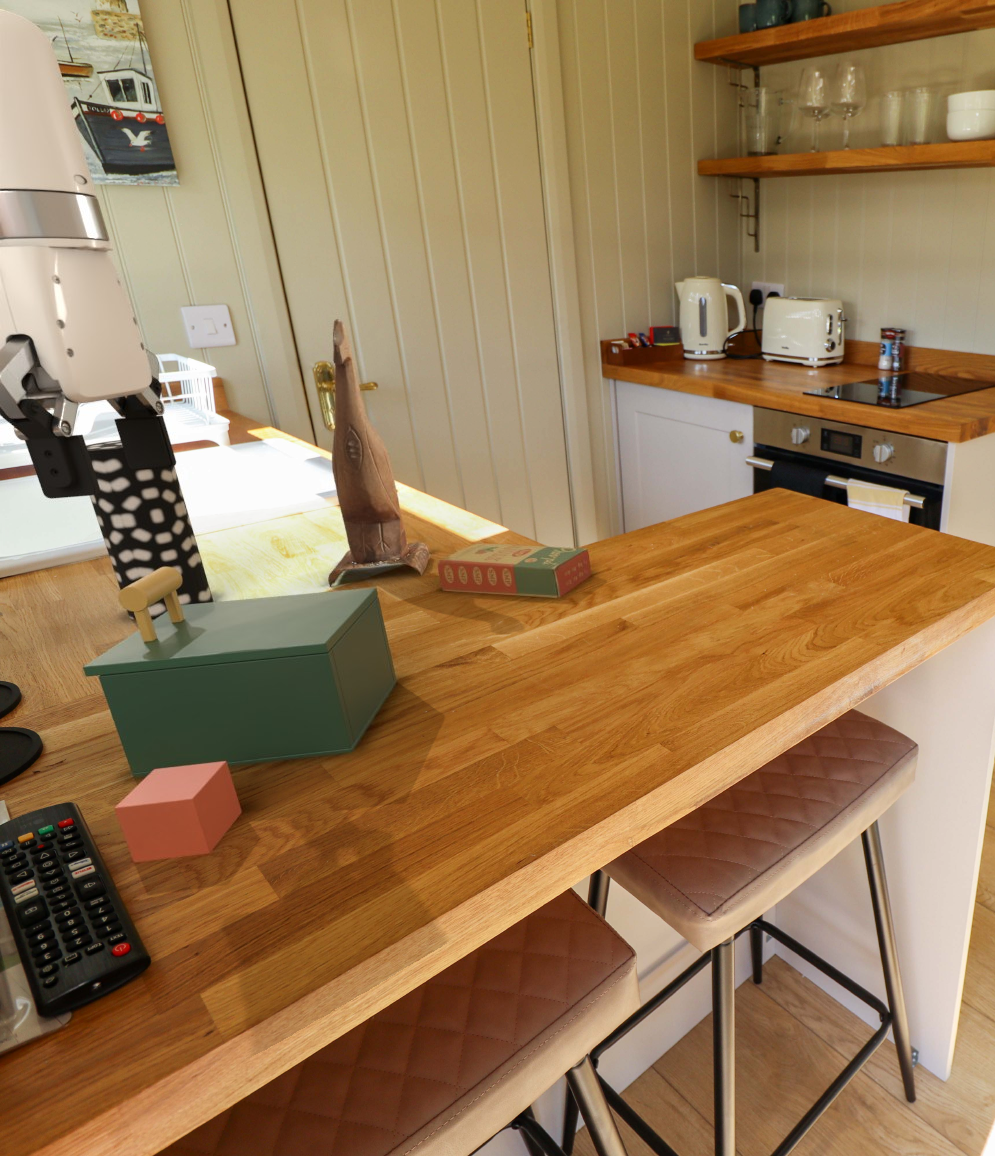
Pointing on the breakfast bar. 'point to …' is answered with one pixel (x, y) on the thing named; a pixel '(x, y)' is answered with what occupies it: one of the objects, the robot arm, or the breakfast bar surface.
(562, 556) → the carton
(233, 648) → the chest lid
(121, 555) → the white-spotted black cylinder
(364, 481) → the bird sculpture
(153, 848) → the block
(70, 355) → the robot arm
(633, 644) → the breakfast bar surface
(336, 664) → the chest
